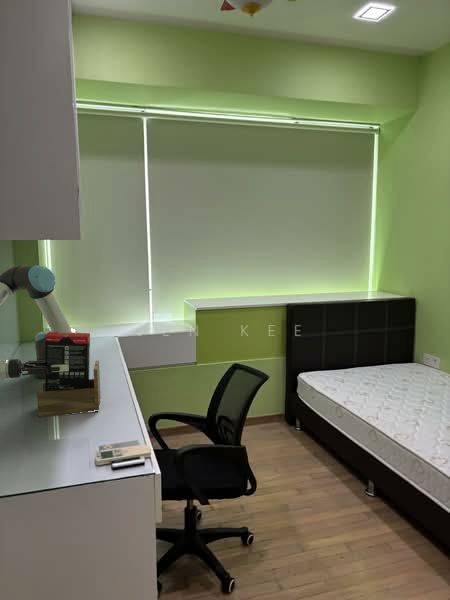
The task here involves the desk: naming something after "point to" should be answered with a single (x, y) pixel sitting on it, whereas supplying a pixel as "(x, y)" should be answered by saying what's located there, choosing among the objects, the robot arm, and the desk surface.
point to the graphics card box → (67, 360)
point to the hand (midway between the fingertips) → (69, 365)
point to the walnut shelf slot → (70, 398)
